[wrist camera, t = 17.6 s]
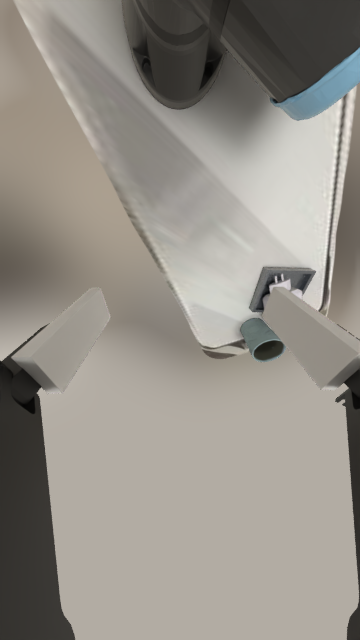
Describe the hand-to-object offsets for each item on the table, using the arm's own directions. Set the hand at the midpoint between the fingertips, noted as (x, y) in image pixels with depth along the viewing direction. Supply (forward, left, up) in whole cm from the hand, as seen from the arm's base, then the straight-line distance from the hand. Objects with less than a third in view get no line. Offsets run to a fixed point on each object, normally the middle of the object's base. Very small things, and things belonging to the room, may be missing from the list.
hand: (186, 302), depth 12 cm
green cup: (+28, +28, -33) cm, 51 cm away
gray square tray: (+13, +31, -33) cm, 47 cm away
